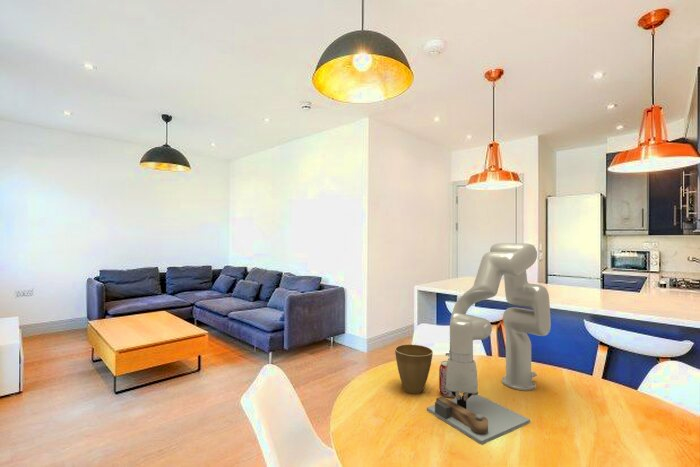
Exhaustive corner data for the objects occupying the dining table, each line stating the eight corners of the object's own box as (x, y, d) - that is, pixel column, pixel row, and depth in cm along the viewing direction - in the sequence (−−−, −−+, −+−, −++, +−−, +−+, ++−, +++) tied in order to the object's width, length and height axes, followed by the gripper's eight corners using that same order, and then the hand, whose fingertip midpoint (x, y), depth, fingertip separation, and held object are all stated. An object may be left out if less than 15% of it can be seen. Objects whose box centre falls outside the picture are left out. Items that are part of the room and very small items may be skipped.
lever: (491, 430, 105) (491, 420, 105) (480, 435, 102) (480, 425, 102) (444, 404, 122) (444, 395, 122) (434, 407, 119) (434, 398, 119)
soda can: (459, 399, 128) (459, 367, 128) (439, 397, 130) (439, 366, 130) (457, 391, 135) (457, 360, 135) (438, 389, 137) (438, 359, 137)
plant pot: (430, 400, 127) (430, 357, 127) (391, 394, 132) (391, 353, 132) (434, 384, 141) (434, 345, 141) (398, 379, 146) (398, 342, 146)
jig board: (473, 394, 132) (473, 380, 132) (530, 422, 112) (530, 405, 112) (426, 410, 120) (426, 394, 120) (481, 444, 100) (481, 425, 100)
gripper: (438, 358, 115) (439, 413, 115) (486, 362, 111) (486, 418, 111) (438, 351, 122) (438, 402, 122) (483, 354, 118) (483, 407, 118)
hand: (461, 410), depth 116 cm, fingers closed
